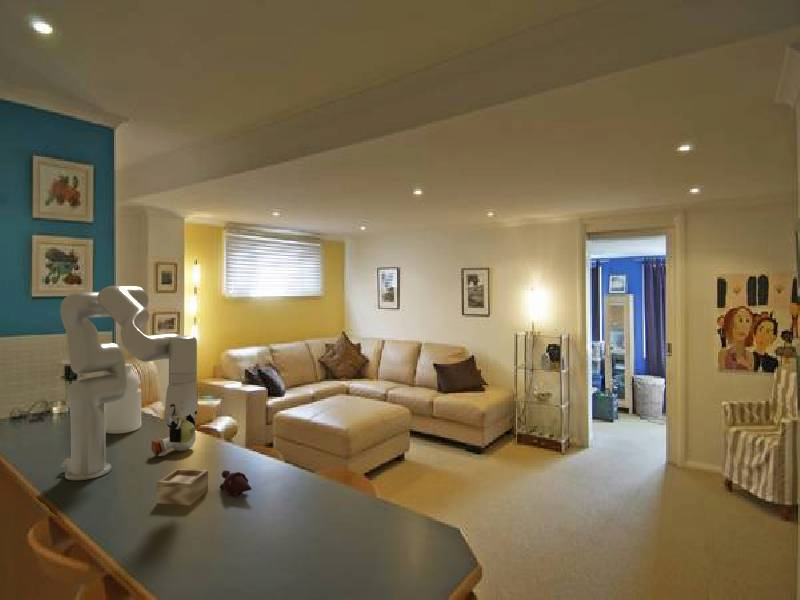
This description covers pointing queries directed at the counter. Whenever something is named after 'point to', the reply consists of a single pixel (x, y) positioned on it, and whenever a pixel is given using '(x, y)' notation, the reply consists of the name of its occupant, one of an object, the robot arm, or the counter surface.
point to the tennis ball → (186, 431)
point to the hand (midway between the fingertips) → (182, 437)
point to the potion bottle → (170, 445)
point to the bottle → (125, 407)
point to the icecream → (234, 483)
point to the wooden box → (182, 486)
